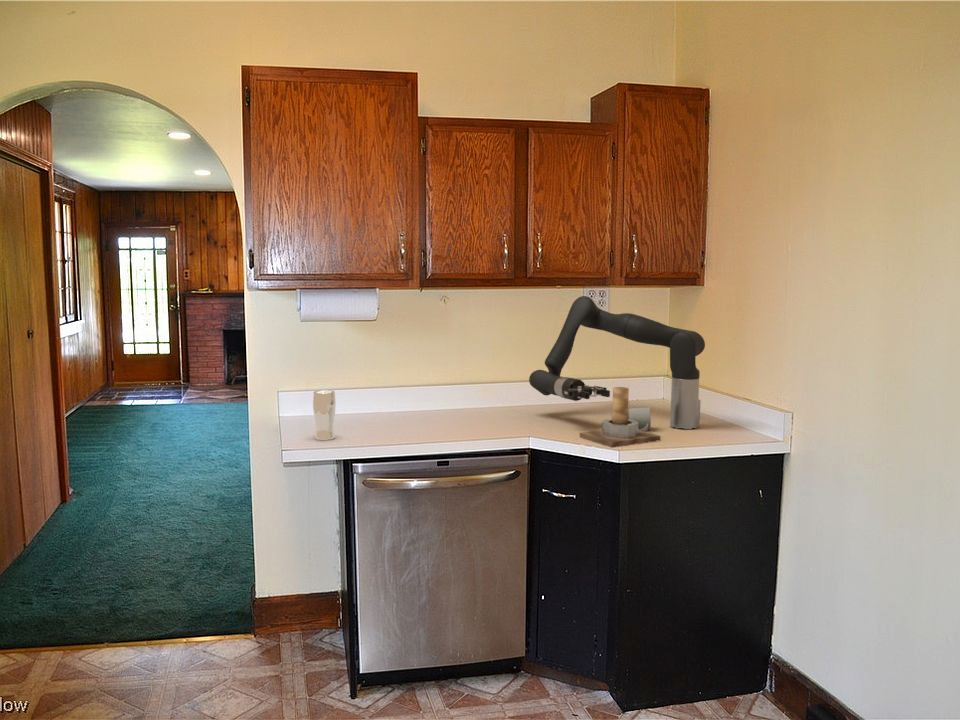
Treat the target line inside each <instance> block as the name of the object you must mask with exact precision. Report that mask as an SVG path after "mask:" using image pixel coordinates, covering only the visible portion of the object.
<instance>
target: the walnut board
mask: <svg viewBox="0 0 960 720" xmlns="http://www.w3.org/2000/svg"><path fill="white" fill-rule="evenodd" d="M579 438H581V439H584V440H587V441H590V442H594V443H597V444H600V445H603V446H606V447H609V448H615V447H616V446H617V447H623V445H624V446H629V444H631V445H636V444H635V443H638V444H644V443H643V442H645V443H649V442H648V441H652V442H657V441H656V440H660V441H661V435H660V434H659V435H658V434H655V433H652V432H648V431H641V430H638V436H636V437H632V438H614V437H608V436H604V435H603V434H602V429H599V430H593V431H591V430H590V431H584V432H579Z"/></svg>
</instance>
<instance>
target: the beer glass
mask: <svg viewBox="0 0 960 720" xmlns="http://www.w3.org/2000/svg"><path fill="white" fill-rule="evenodd" d="M312 400H313V401H312V408H313V414H314V415H313V416H314V420H315V426H316V427H315V429H316V430H315V436H314V439H315V440H317V441H331V440H334V439H335V437H336V436H335V432H334V431H335V430H334V422H335V415H336V392H335V390H328V389H327V390H315V391H313V399H312Z"/></svg>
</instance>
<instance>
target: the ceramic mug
mask: <svg viewBox="0 0 960 720" xmlns="http://www.w3.org/2000/svg"><path fill="white" fill-rule="evenodd" d="M651 412H652V411H651V407H649V406H647V407H632V408H628V419H629V420H634V421H637V422H638V423H639V424H638V430H641V431H645V432H648V431H651V429H652V428H651V427H652V425H651V424H652V419H651V416H652V415H651Z"/></svg>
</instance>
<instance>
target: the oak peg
mask: <svg viewBox="0 0 960 720" xmlns="http://www.w3.org/2000/svg"><path fill="white" fill-rule="evenodd" d="M629 392H630V389H629V387H626V386H625V387H624V386H614V387H612V409H611V414H612V415H611V419H612V423H613V424H628V409H629V398H630V397H629Z"/></svg>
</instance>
